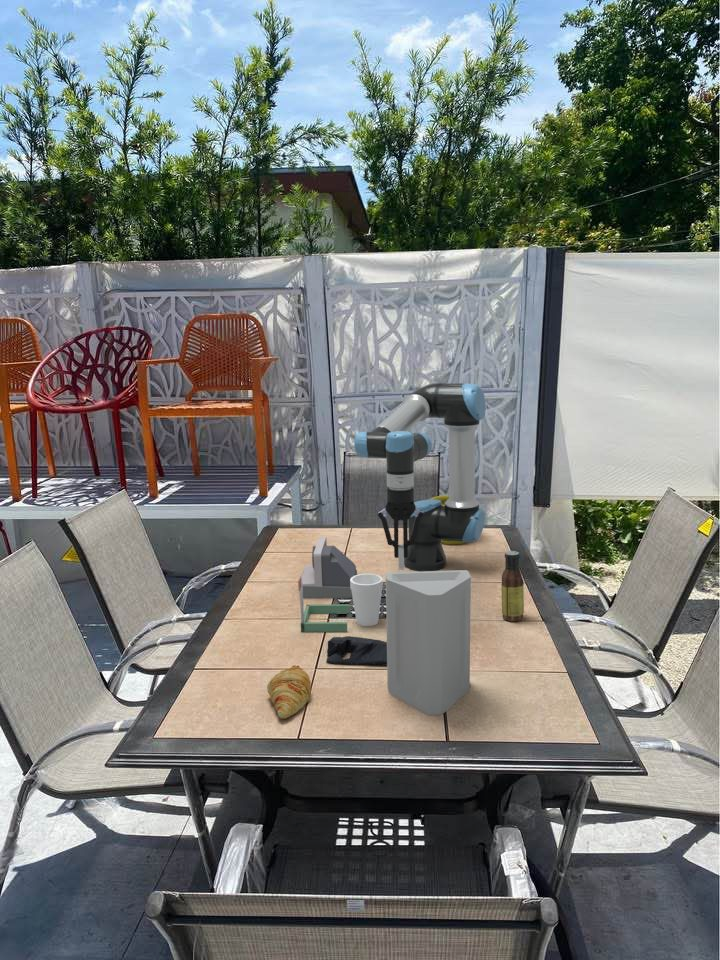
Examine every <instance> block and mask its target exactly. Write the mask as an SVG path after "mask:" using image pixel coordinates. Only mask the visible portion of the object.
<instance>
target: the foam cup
mask: <svg viewBox="0 0 720 960" xmlns="http://www.w3.org/2000/svg"><path fill="white" fill-rule="evenodd" d="M383 578H384V577H383V576H381V575H379V574H376V573H360V574H359V573H358V574H357V575H355V576H353V577H352V578H350V589H351V591H352V597H353V598H352V602H353V609H354V615H355V620H356V624H357V625H359V626H363V627H371V626H375V625H376V626H377V624H378V623H379V618H380V612H381V611H380V610H381V601H382V592H383V587H384V586H383V585H384V584H383V581H384V580H383Z"/></svg>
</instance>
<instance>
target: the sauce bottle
mask: <svg viewBox="0 0 720 960" xmlns="http://www.w3.org/2000/svg"><path fill="white" fill-rule="evenodd" d="M504 559H505V566H504V567H505V568H504V570H503V572H502V574H501V614H502V618H503V619H504V620H505V621H507V622H514V623H515V622H520V621H522V620H523V619H524V613H525V606H524V605H525V604H524V603H525V602H524V601H525V599H524V597H525V596H524V595H525V594H524V593H525V592H524V588H525V587H524V578H523V575H522V572H521V569H520V565H519V564H520V563H519V562H520V561H519V559H520V552H518V551H515V550H509V551H507V550H506V551H505V552H504Z"/></svg>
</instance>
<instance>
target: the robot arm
mask: <svg viewBox="0 0 720 960" xmlns="http://www.w3.org/2000/svg"><path fill="white" fill-rule="evenodd" d="M486 405H487V403H486V396H485V393H484V391H483V389H482V388H481V386H480V385H478V384H475V383H467V382H465V383H464V382H462V383H461V382H459V383H458V382H457V383H456V382H455V383H451V382H450V383H449V382H448V383H445V382H444V383H441V382H439V383H438V382H436V383H431V384H427V385H424V386H422V387H420V388H417V389H416V390H414V391H413V392H411V393H410V394H409V395H407V396H406V397H404V399H403V403H402V405H401V406H399V407H398V408H397V409H396V410H395V411H393V412H392V413H391V414H390V415H389V416H387V418H385V419H384V420H383V421H382V422H381V423H380V424H378V425H377V426H376V427H375V428H374V429H372V430H371V431H367V430H366V431H360V432H358V433H357V434H356V435H355V438H354V443H353V444H354V445H353V447H354V450H355V453H356V455H358V456H359V457H364V458H368V459H369V458H372V459H373V458H374V459H386V486H387V489H386V505H385V508H383V509H382V510H379V511H378V512H377V516H378V518H379V519H380V521H381V524H382V528H383V531H384V535H385V539H386V542H387V545H388V546H392V547H393V549H394V550H393V551H394V552H393V554H394V556H393V557H394V559H396V558H398V560H397V561H398V562H397V563H398V571H401V570H402V571H404V570H405V568H407V569H408V570H412V571H413V570H414V571H417V572H422V571H439V570H441V569H444V568H445V567H446V566H447V557H446V554H445V553H446V552H445V550H444V548H443V545H442V543H441V539H447V540H455V541H462V542H465V543H475V542H477V541H478V540H479V538H480V537H481V535H482V533H483V530H484V526H485V520H486V514H485V510H484V509H482V508H480V502H479V501H478V500H477V499H476V498H475V494H476V493H475V487H476V486H475V485H476V484H475V481H476V480H475V476H476V475H475V471H476V469H475V468H476V466H475V464H476V463H475V459H476V458H475V457H476V455H475V453H476V451H475V450H476V449H475V448H476V447H475V446H476V443H475V442H476V441H475V440H476V439H475V438H476V434H475V433H476V428H478V426H480V421H481V420H483V419H484V417H485V415H486V407H487V406H486ZM431 418H432V419H433V418H434V419H435V418H438V419H443V420H444V421H443V424H444V426H445V427H446V428H447V429H448V487H449V489H448V492H449V493H448V495H449V499H448V500H447V501H446V502H445V506H442V503H441V501H440V500H437V499H431V498H430V499H422V500H418V501H415V489H414V485H415V482H414V481H415V478H414V476H415V474H414V473H415V472H414V471H415V470H414V467H415V464H414V463H415V462H417V461H419V460H423V459H425V458H426V457H427V456H428V455H429V454H430V453H431V452H432V449H433V444H432V440H431V438H430V437H429V436H428V435H427V433H424V432H410V430H411V429H412V428H413V427H414V426H415V425H416V424H418V423H420V422H423V421H425V420H427V419H431ZM387 515H389V516H390V518H391V519H392V520H393V539H392V535H391V531H390V527H389V524H388V520H387ZM399 521H402V527H403V528H402V535H403V536H402V539H403V541H402V543H403V544H399Z"/></svg>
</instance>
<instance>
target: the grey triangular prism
mask: <svg viewBox="0 0 720 960" xmlns="http://www.w3.org/2000/svg"><path fill="white" fill-rule="evenodd" d="M471 577H472V576H471V574H470V572H469V570H466V569H464V570H460V569H459V570H433V571H393V572H385V608H386V609H385V611H386V613H385V615H386V617H385V618H386V619H385V620H386V642H387V665H386V669H387V670H386V673H387V674H386V676H387V677H386V680H387V682H386V683H387V691H388V694H389V695H391V696H393V697H395V698H397V699H398V700H401V701H402V702H403V703H406V704H407V705H408V706H410V707H412V708H414V709H415V710H418V711H419V712H421V713H424V714H425V715H427V716H441V715H443V714H444V713H445V712H447V711H448V710H449V709H450V708H451V707H453V705H455V704H456V703H457V702H459V700H461V699H462V698H463V697H464V696H465V695H467V694H468V692H469V691H470V689H471V688H470V686H471V685H470V681H471V677H470V675H471V672H470V671H471V669H470V668H471V666H470V665H471V662H470V661H471V601H472V600H471V597H472V596H471V591H472V589H471V587H472V586H471V585H472V584H471V583H472V582H471V581H472V579H471Z"/></svg>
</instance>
